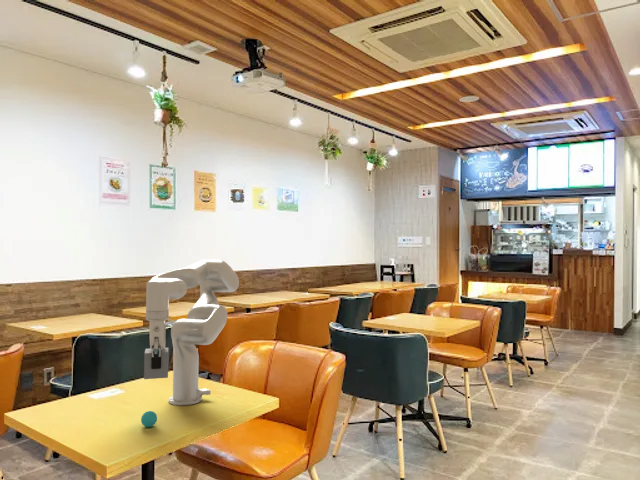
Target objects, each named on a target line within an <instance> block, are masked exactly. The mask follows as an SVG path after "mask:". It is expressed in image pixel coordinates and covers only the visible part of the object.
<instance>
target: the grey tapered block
mask: <svg viewBox="0 0 640 480" xmlns="http://www.w3.org/2000/svg"><path fill="white" fill-rule="evenodd" d="M143 356H144V357H143V358H144V360H143V362H144V363H143V366H144V367H143V369H144V370H143V379H144V380H153V379H154V380H155V379H167V378H169V347H165V349H163V348H161V356H160V357H161V368H160V369H151V357H152V349H150V348H145V349H144V355H143Z"/></svg>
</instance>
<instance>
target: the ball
mask: <svg viewBox="0 0 640 480" xmlns="http://www.w3.org/2000/svg"><path fill="white" fill-rule="evenodd" d="M140 420H141V421H140V422H141V424H142V425H143V426H144V427H146V428H150V427H154V426H155V425H156V423H157V421H158V416H157V413H156V412H155V411H153V410H148V411H145V412H143V414H142V415H141V418H140Z"/></svg>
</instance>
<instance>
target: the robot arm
mask: <svg viewBox="0 0 640 480" xmlns="http://www.w3.org/2000/svg"><path fill="white" fill-rule="evenodd" d="M239 284H240V279H239V276H238V274H237V273H236V271H234V269H233V268H232V267H231V266H230V265H229V264H228V263H227V262H226V261H224V260H223V259H222V260H221V259H201V260H198V261H196V262H195V263H192V264H190V265H188V266H186V267H183V268H178V269H174V270H171V271H170V270H169V271H166V272H163V273H159V274H158V275H157V274H156V276H153V277H152V278H151V279H150V280H148V281H147V282H146V289H145V290H146V293H145V294H146V295H145V297H146V299H145V307H146V308H145V321H148V322H149V346H150V347H149V349H152V357H151V369H160V368H161V357H160V356H161V348H163V349H165V348H166V343H167V341H166V336H167V335H166V332H167V331H166V330H167V329H166V328H167V326H166V324H167V323H166V322H167V320H169V317H170V316H169V314H170V313H169V312H170V309H169V308H170V307H169V304H170V303H169V301H170V300H179V299H181V298H183V297H184V296H186V293H187V290H188V289H194V288H196V287H198V286H199V292H200V293H199V294H200V295H199V298H198V300H197V301H196V302H194V303H195V304H193V306H192V307H191V308H190V310H189V311H188V312H187V316H186V318H179V319H176V320H175V321H174V322H173V323H172V325H171V328H170V335H171V341H172V349H173V351H172V352H173V356H172V357H173V359H172V360H173V363H172V364H173V365H172V366H173V367H172V370H173V371H172V372H173V373H172V396H169V398H168V403H169V404H170V405H173V406H190V405H196V404H199V403H200V402H201V401H202V400H203V396H210V395H211V393H212V392H211V389H207V388H200V387H199V364H200V363H199V360H200V356H199V351H198V349H197V346H196V345H202V346H208V345H210V344H211V345H212V344H213V342H214V341H216V339H217V338H218V336H219V334H221V332H222V330H223V329H224V327H225V326H226V324H227V320H228V310H227V308H226V307H225V306H224V305H222V304H219V300H218V298H217V296H216V294H215V293H234V292H236V291H237V290H238V288H239V287H240V285H239Z"/></svg>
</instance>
